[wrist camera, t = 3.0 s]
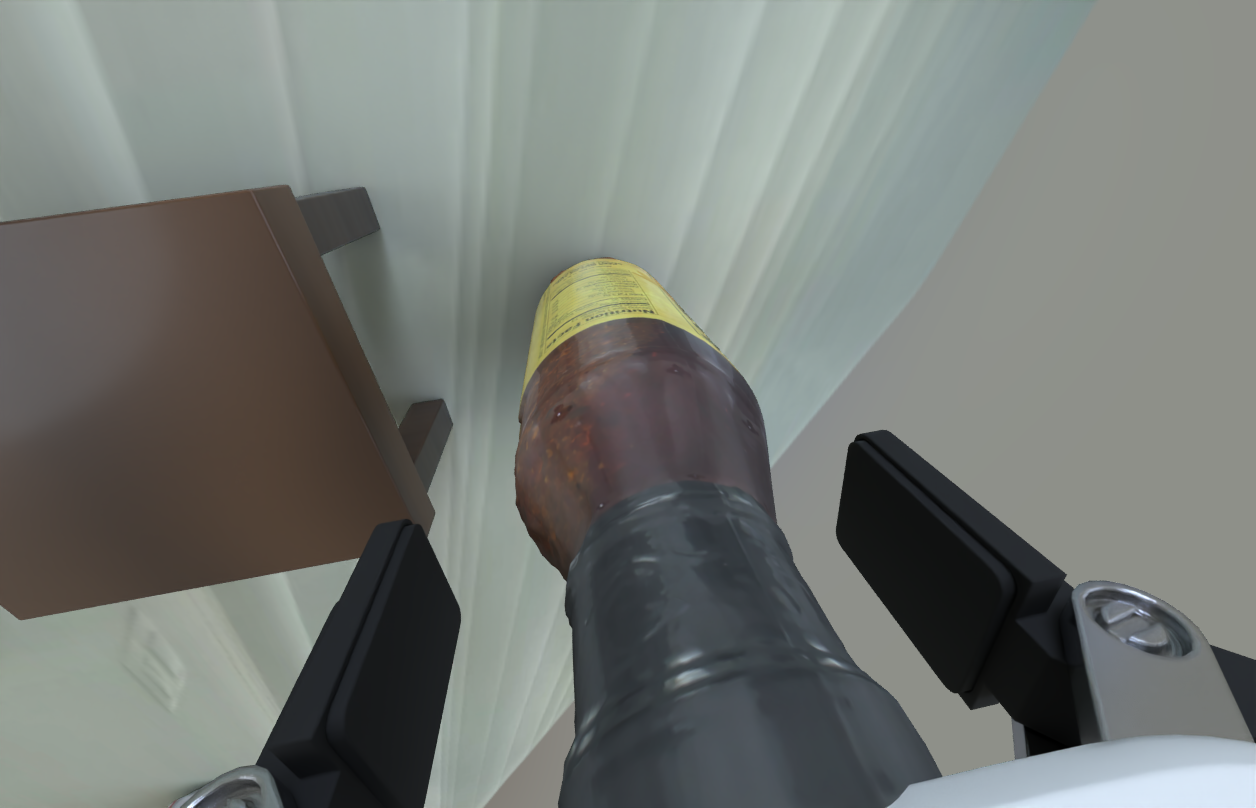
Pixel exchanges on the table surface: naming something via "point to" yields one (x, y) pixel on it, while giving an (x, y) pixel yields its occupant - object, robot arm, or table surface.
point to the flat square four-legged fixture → (191, 401)
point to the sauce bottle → (684, 573)
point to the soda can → (181, 800)
